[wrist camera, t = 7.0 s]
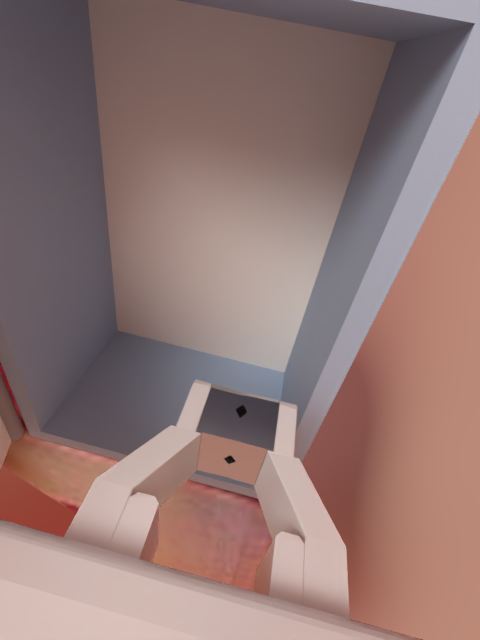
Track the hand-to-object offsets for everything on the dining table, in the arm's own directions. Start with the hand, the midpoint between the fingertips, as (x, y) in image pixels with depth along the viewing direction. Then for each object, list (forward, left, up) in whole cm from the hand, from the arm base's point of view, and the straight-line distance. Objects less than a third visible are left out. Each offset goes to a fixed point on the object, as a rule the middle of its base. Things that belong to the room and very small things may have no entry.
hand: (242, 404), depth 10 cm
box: (-3, +2, -12) cm, 12 cm away
